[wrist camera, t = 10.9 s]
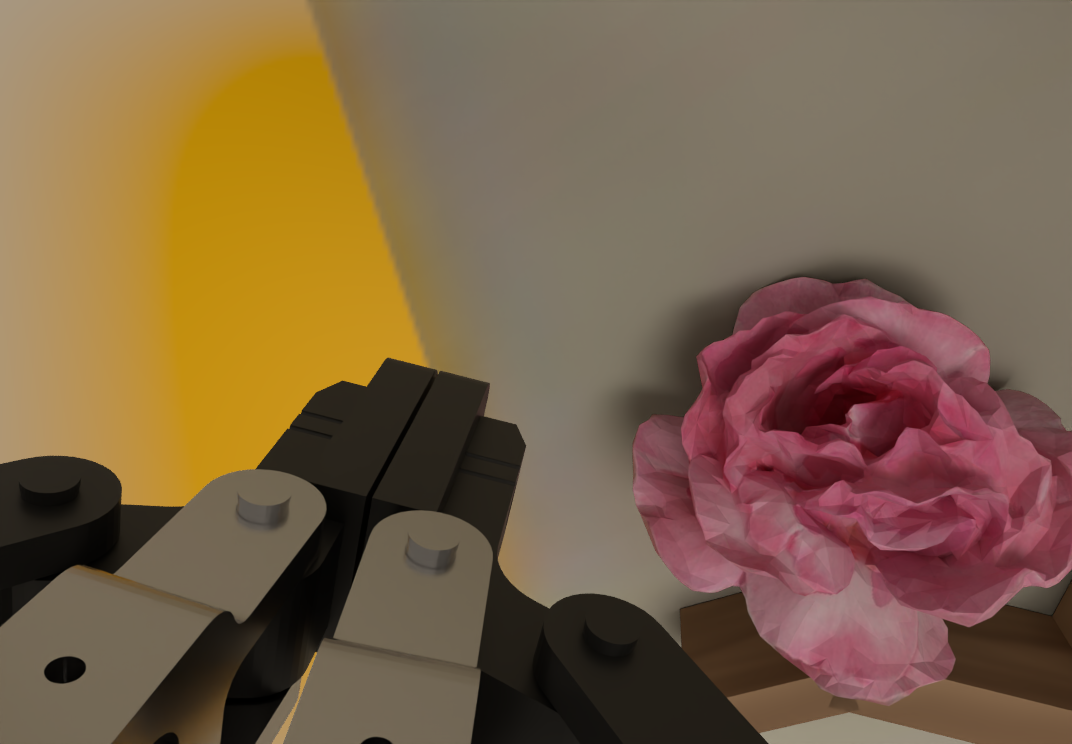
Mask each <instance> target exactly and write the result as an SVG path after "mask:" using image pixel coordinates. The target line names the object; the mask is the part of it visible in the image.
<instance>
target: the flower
mask: <svg viewBox="0 0 1072 744" xmlns="http://www.w3.org/2000/svg"><path fill="white" fill-rule="evenodd" d="M696 358H697V363H698V368H699V373H700V378H701V383H702V388H703V389H702V391H701V392H700V394H699V396H698V397H697V399H696V401H695V402H694V403H693V405H692V406H691V407H690V409H689V410H688V411H687V413H686V414H685V417H677V416H671V415H656V414H652V416H651V417H650V419H649V420H648V421H646V422H644V423H642V424H640V425H639V428H638V430H637V433H636V436H635V439H634V441H633V492H634V496H635V502H636V506H637V508H638V510H639V512H640V514H641V517H642V519H643V522H644V524H645V526H646V529H647V531H648V534H649V536H650V539H651V541H652V543H653V546H654V548H655V551H656V552H657V554H658V555H659V556H660V558H661V559H662V560H663V562H664V563H665V565H666V566H667V567H668V568H669V570H670V571H671V572H672V573H673V575H674V576H675V577H676V578H677V579H678V580H679V581H680V582H681V583H683V584H684V585H685V586H687V587H688V588H690V589H691V590H692V591H700V592H708V593H715V592H719V591H721V590H724V589H726V588H728V587H731V586H739V587H740V589H741V591H742V593H743V595H744V597H745V599H746V604H747V610H748V613H749V615H750V617H751V619H752V621H753V623H754V625H755V627H756V629H757V631H758V633H759V635H760V637H762V638H763V639H764V640H765V641H766V642H767V643H768V644H769V645H771V646H772V647H773V648H774V649H775V650H776V651H777V652H778V653H780V654H781V655H782V656H783V657H784V658H785V659H787V660H788V661H789V662H791V663H792V664H793V665H795V666H796V667H797V668H799V669H800V670H802V671H803V672H804V673H806V674H807V675H808V676H809V677H810V678H812V679H813V680H814V681H815V683H816V684H817V686H818V687H819V688H820V689H822V690H824V691H826V692H829V693H831V694H833V695H835V696H837V697H843V698H849V699H857V700H864V701H869V702H873V703H877V704H881V705H886V706H890V705H892V704H894V703H896V702H897V701H899V700H901V699H903V698H905V697H907V696H908V695H910V694H911V693H912V692H913V691H914V690H916V689H917V688H919V687H922V686H925V685H929V684H932V683H935V682H938V681H941V680H945V679H946V678H947V677H948V675H949V674H950V673H951V672H952V669H953V666H954V663H955V660H956V658H955V656H954V654H953V652H952V650H951V647H950V645H949V643H948V628H947V626H946V625H945V623H944V621H943V620H942V619H945V620H948V621H951V622H954V623H957V624H960V625H964V626H967V627H971V626H973V625H975V624H978V623H980V622H982V621H984V620H987V619H989V618H991V617H992V616H993V615H995V614H996V613H997V612H998V611H999V610H1000V609H1001V608H1002V607H1003V606H1004V605H1005V604H1006V603H1007V602H1008V601H1009V600H1010V599H1011V598H1013V597H1014V596H1015V595H1016V594H1017V593H1018V592H1019V591H1020V590H1021V589H1022V588H1023V587H1028V586H1040V587H1044V588H1049V587H1051V586H1053V585H1055V584H1057V583H1059V582H1060V581H1061V580H1062V579H1063V578H1064V577H1065V576H1066V575H1067V574H1068V573H1069V571H1070V570H1071V569H1072V431H1066V430H1065V428H1064V427H1063V425H1062V424H1061V418H1060V417H1059V416H1058V415H1057V414H1056V413H1055V412H1054V411H1053V410H1052V409H1051V408H1049V407H1048V406H1047V405H1046V404H1045V403H1043V402H1042V401H1040V400H1039V399H1037V398H1036V397H1034V396H1032V395H1030V394H1027V393H1024V392H1021V391H1016V390H1010V389H1006V390H1000V391H994V390H993V389H992V388H991V387H990V386H989V385H988V384H987V383H988V380H989V376H990V355H989V349H988V348H987V347H986V346H985V344H984V343H983V342H982V340H981V339H980V338H979V337H978V336H977V335H976V334H975V333H974V332H973V331H971V330H970V329H969V328H968V327H966V326H965V325H963V324H961V323H960V322H958V321H957V320H955V319H953V318H952V317H950V316H948V315H945V314H942V313H939V312H934V311H929V310H924V309H919V308H916V307H914V306H913V305H911V304H910V303H909V302H907V301H906V300H905V299H903V298H902V297H900V296H898V295H896V294H894V293H891V292H889V291H887V290H885V289H883V288H881V287H879V286H877V285H876V284H874V283H872V282H871V281H869V280H867V279H861V280H854V281H851V282H847V283H838V284H832V283H830V282H827V281H825V280H820V279H814V278H808V277H800V278H793V279H789V280H786V281H782V282H779V283H775V284H772V285H769V286H766V287H763V288H761V289H759V290H757V291H755V292H754V293H752V294H751V296H750V297H749V298H748V299H747V300H746V301H745V302H744V303H743V305H742V306H741V307H740V309H739V313H738V316H737V319H736V323H735V326H734V330H733V335H732V336H730V337H728V338H726V339H724V340H722V341H717V342H713V343H711V344H710V345H708V346H707V347H705V348H704V349H703V350H702V351H701V352H700V353H699V354H698V355H697V356H696Z"/></svg>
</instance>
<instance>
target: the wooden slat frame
mask: <svg viewBox="0 0 1072 744" xmlns="http://www.w3.org/2000/svg"><path fill="white" fill-rule="evenodd" d="M680 620H681V644H682V649H683V650H684V651H685V652H686V653H687V654H688V656H689V657H690V658H691V659H692V660H693V661H694V662H695V663H696V664H697V666H698V667H699V668H700V669H701V670H702V671H703V672H704V673H705V674H706V675H707V677H708V678H709V679H710V680H711V681H712V682H713V683H714V684H715V685H716V686H717V688H718V689H719V690H720V691H721V692H722V693H723V694H724V695H725V696H726V697H727V699H728V700H729V701H730V702H731V703H732V704H733V705H734V706H735V707H736V708H737V710H738V711H739V712H740V713H741V714H742V715H743V716H744V717H745V718H746V719H747V721H748V722H749V723H750V724H751V725H752V726H753V727H754V728H755V729H756V730H757V732H758V733H761V732H765V731H770V730H774V729H778V728H783V727H787V726H792V725H796V724H800V723H805V722H809V721H813V720H818V719H822V718H826V717H831V716H835V715H839V714H844V713H848V712H851V713H855V714H859V715H863V716H867V717H871V718H875V719H879V720H883V721H887V722H891V723H895V724H899V725H903V726H907V727H911V728H915V729H919V730H923V731H927V732H931V733H935V734H939V735H943V736H947V737H951V738H955V739H959V740H963V741H967V742H971V743H975V744H1072V581H1071V583H1070V585H1069V587H1068V588H1067V590H1066V592H1065V594H1064V596H1063V598H1062V600H1061V601H1060V603H1059V605H1058V607H1057V609H1056V611H1055V613H1054V614H1053V616H1048V615H1044V614H1040V613H1036V612H1032V611H1028V610H1024V609H1020V608H1016V607H1012V606H1008V605H1004V606H1003V607H1002V608H1001V609H1000V610H999V611H998V612H997V613H996V614H995V615H993V616H992V617H991V618H989V619H987V620H984V621H982V622H980V623H978V624H975V625H973V626H971V627H967V626H964V625H960V624H957V623H954V622H951V621H948V620H945V619H942V620H943V621H944V623H945V625H946V626H947V628H948V643H949V645H950V647H951V650H952V652H953V654H954V656H955V658H956V660H955V663H954V666H953V669H952V672H951V673H950V674H949V675H948V677H947V678H946V679H945V680H941V681H938V682H935V683H932V684H929V685H925V686H922V687H919V688H917V689H916V690H914V691H913V692H912V693H911V694H910V695H908V696H907V697H905V698H903V699H901V700H899V701H897V702H896V703H894V704H892V705H890V706H886V705H881V704H877V703H873V702H869V701H864V700H857V699H849V698H843V697H837V696H835V695H833V694H831V693H829V692H826V691H824V690H822V689H820V688H819V687H818V686H817V684H816V683H815V681H814V680H813V679H812V678H810V677H809V676H808V675H807V674H806V673H804V672H803V671H802V670H800V669H799V668H797V667H796V666H795V665H793V664H792V663H791V662H789V661H788V660H787V659H785V658H784V657H783V656H782V655H781V654H780V653H778V652H777V651H776V650H775V649H774V648H773V647H772V646H771V645H769V644H768V643H767V642H766V641H765V640H764V639H763V638H762V637H760V635H759V633H758V631H757V629H756V627H755V625H754V623H753V621H752V619H751V617H750V615H749V613H748V610H747V604H746V599H745V597H744V595H743V593H738V594H735V595H731V596H727V597H723V598H720V599H716V600H712V601H709V602H705V603H701V604H697V605H694V606H690V607H686V608H683V609H680Z"/></svg>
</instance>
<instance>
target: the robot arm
mask: <svg viewBox="0 0 1072 744" xmlns="http://www.w3.org/2000/svg"><path fill="white" fill-rule="evenodd" d="M489 387H490V383H487V382H483V381H479V380H475V379H471V378H467V377H463V376H459V375H455V374H451V373H447V372H443V371H440V372H439V374H438V372H437V370H435V369H431V368H427V367H423V366H419V365H415V364H411V363H407V362H403V361H399V360H395V359H391V358H387V359H386V360H385V361H384V362H383V364H382V365H381V367H380V368H379V370H378V371H377V373H376V374H375V375H374V377H373V378H372V380H371V381H370V383H369V384H368V386H367V387H365V386H361V385H357V384H353V383H350V382H346V381H341V382H339V383H336V384H334V385H332V386H330V387H327V388H325V389H323V390H321V391H318V392H316V393H315V395H314V396H313V397H312V398H311V400H310V401H309V402H308V403H307V405H306V406H305V407H304V408H303V410H302V413H301V414H299V415H298V416H297V417H296V419H295V420H294V421H293V422H292V424H291V425H290V429H287V430H286V431H285V432H284V434H283V435H282V436H281V438H280V439H279V440H278V441H277V443H276V444H275V445H274V446H273V448H272V449H271V450H270V451H269V453H268V454H267V455H266V456H265V458H264V459H263V460H262V462H261V463H260V464H259V465H258V467H257V468H256V469H255V470H243V471H237V472H233V473H228V474H226V475H223V476H220V477H218V478H217V479H215V480H213V481H211V482H210V483H209V484H207V485H206V486H205V487H204V488H203V489H202V490H201V491H200V492H199V493H198V494H197V495H196V496H195V497H194V498H193V499H192V500H191V501H190V502H189V503H187V504H186V505H185V506H182V507H163V506H161V507H160V506H143V505H122V504H121V493H122V487H121V483H120V481H119V479H118V478H117V476H116V475H115V474H114V473H113V472H112V471H111V470H109V469H107V468H106V467H104V466H103V465H100V464H98V463H96V462H93V461H89V460H86V459H81V458H76V457H68V456H43V457H34V458H28V459H22V460H18V461H13V462H8V463H3V464H0V744H272V742H273V740H274V739H275V737H276V735H277V734H278V732H279V730H280V728H281V727H282V725H283V724H284V722H285V720H286V719H287V717H288V715H289V714H290V712H291V711H292V709H293V707H294V706H295V703H296V701H297V699H298V695H299V690H300V683H301V677H302V676H303V674H304V673H305V671H306V669H307V667H308V665H309V663H310V661H311V659H312V657H313V655H314V653H315V652H317V655H316V657H315V660H314V663H313V665H312V668H311V671H310V673H309V676H308V679H307V681H306V684H305V687H304V689H303V692H302V695H301V697H300V700H299V703H298V705H297V708H296V711H295V713H294V716H293V719H292V721H291V724H290V727H289V730H288V732H287V735H286V737H285V740H284V743H283V744H768V743H767V742H766V740H765V739H764V738H763V737H762V736H761V735H760V734H759V733H758V732H757V730H756V729H755V728H754V727H753V726H752V725H751V724H750V723H749V722H748V721H747V719H746V718H745V717H744V716H743V715H742V714H741V713H740V712H739V711H738V710H737V708H736V707H735V706H734V705H733V704H732V703H731V702H730V701H729V700H728V699H727V697H726V696H725V695H724V694H723V693H722V692H721V691H720V690H719V689H718V688H717V686H716V685H715V684H714V683H713V682H712V681H711V680H710V679H709V678H708V677H707V675H706V674H705V673H704V672H703V671H702V670H701V669H700V668H699V667H698V666H697V664H696V663H695V662H694V661H693V660H692V659H691V658H690V657H689V656H688V654H687V653H686V652H685V651H684V650H683V649H682V648H681V647H680V646H679V645H678V643H677V642H676V641H675V640H674V639H673V638H672V637H671V636H670V635H669V634H668V632H667V631H666V630H665V629H664V628H663V627H662V626H661V625H660V624H659V623H658V622H657V621H656V620H655V619H654V618H653V617H652V616H650V615H649V614H648V613H646V612H645V611H644V610H642V609H640V608H638V607H637V606H635V605H633V604H631V603H629V602H626V601H624V600H621V599H618V598H615V597H611V596H607V595H600V594H578V595H572V596H569V597H566V598H563V599H561V600H560V601H558V602H556V603H555V604H554V605H553V606H551V608H550V609H549V608H547V607H545V606H543V605H541V604H539V603H538V602H536V601H534V600H532V599H531V598H529V597H527V596H526V595H524V594H523V593H522V592H520V591H519V590H518V589H517V588H515V587H514V586H513V585H512V584H511V583H510V582H509V580H508V579H507V578H506V577H505V575H504V574H503V572H502V570H501V568H500V566H499V563H498V555H499V552H500V548H501V544H502V541H503V537H504V533H505V529H506V525H507V521H508V517H509V513H510V509H511V505H512V501H513V497H514V493H515V489H516V485H517V481H518V476H519V472H520V468H521V464H522V460H523V456H524V452H525V448H526V445H525V442H524V440H523V438H522V436H521V434H520V431H519V429H518V427H517V425H516V424H512V423H508V422H504V421H500V420H496V419H492V418H488V417H484V412H485V408H486V403H487V399H488V394H489Z"/></svg>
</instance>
